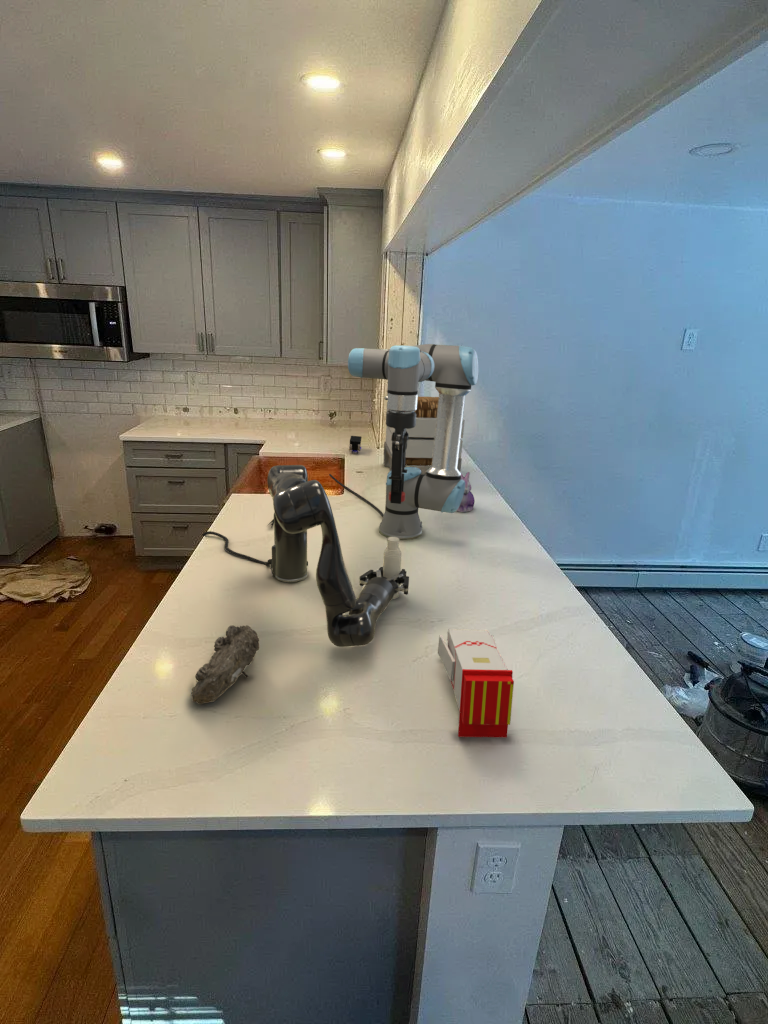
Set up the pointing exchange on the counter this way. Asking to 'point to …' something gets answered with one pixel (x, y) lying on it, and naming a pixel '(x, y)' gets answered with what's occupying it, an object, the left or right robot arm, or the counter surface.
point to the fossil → (225, 663)
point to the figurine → (466, 496)
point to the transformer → (419, 436)
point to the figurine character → (355, 444)
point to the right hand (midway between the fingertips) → (396, 499)
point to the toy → (478, 682)
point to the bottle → (392, 560)
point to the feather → (272, 523)
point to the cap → (401, 496)
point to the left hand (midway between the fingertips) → (394, 570)
